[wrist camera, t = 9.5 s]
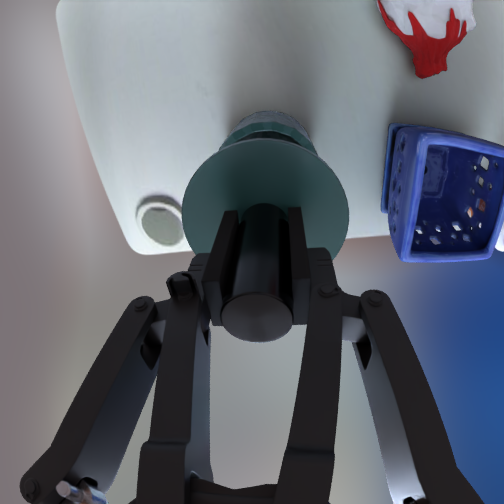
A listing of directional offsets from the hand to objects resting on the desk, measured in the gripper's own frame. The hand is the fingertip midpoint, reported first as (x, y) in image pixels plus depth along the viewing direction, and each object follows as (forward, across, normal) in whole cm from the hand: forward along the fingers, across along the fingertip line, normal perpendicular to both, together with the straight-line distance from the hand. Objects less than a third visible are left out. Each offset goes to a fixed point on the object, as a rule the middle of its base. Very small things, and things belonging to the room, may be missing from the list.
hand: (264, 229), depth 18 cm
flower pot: (+19, +19, -2) cm, 27 cm away
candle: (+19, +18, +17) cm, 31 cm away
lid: (+1, 0, 0) cm, 1 cm away
